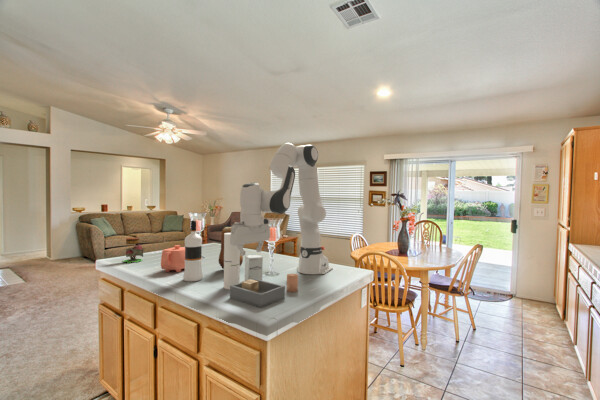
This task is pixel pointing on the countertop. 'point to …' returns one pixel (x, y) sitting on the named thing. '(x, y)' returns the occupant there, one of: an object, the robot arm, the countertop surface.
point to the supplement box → (253, 267)
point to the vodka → (193, 256)
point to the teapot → (173, 258)
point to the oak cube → (250, 285)
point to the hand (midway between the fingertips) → (251, 253)
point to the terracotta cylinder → (292, 282)
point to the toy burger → (133, 250)
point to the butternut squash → (221, 256)
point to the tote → (265, 294)
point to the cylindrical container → (231, 263)
